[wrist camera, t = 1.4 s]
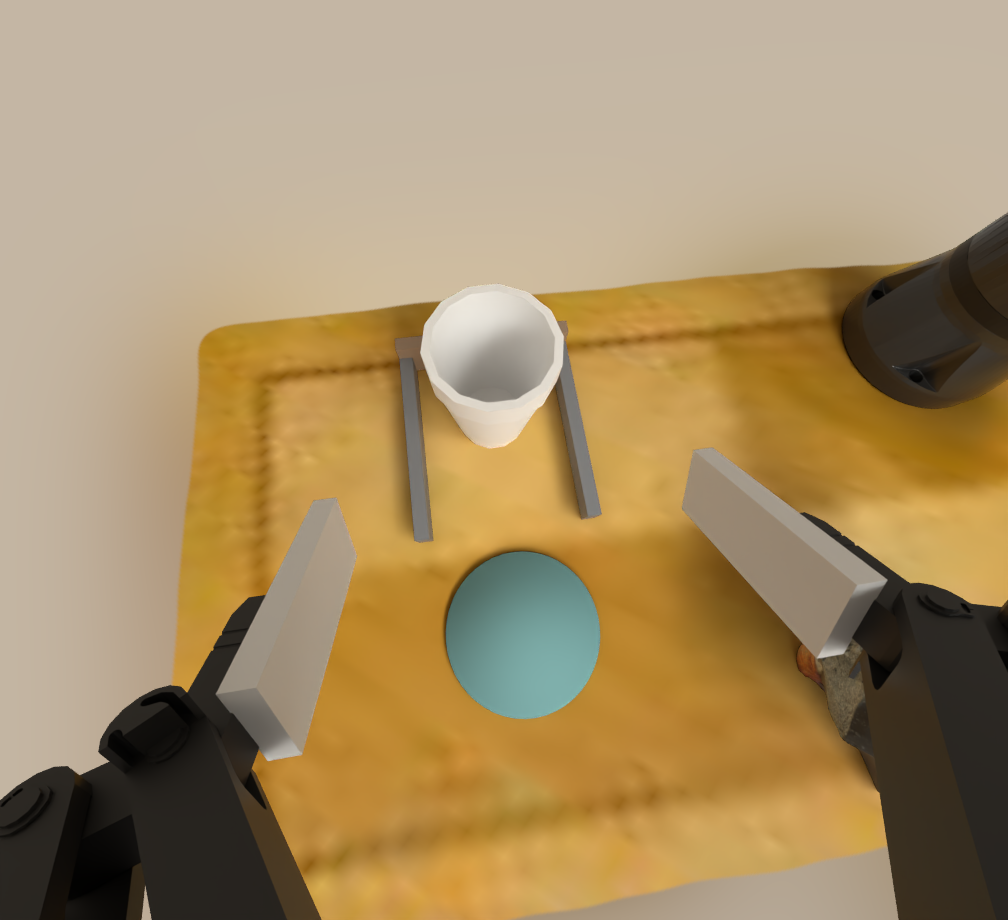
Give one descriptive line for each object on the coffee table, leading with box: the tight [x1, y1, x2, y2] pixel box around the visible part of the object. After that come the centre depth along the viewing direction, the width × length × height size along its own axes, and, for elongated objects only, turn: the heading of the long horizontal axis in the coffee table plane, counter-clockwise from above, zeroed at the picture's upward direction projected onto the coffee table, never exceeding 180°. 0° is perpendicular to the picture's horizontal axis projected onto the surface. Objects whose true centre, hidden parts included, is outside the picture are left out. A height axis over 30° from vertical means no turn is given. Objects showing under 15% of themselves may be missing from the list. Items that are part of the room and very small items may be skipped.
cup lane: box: [395, 321, 602, 543], centre depth 35 cm, size 16×18×4 cm
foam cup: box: [420, 284, 564, 448], centre depth 31 cm, size 10×9×13 cm
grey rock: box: [797, 602, 971, 792], centre depth 24 cm, size 14×15×18 cm
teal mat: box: [446, 551, 600, 719], centre depth 33 cm, size 13×13×1 cm
